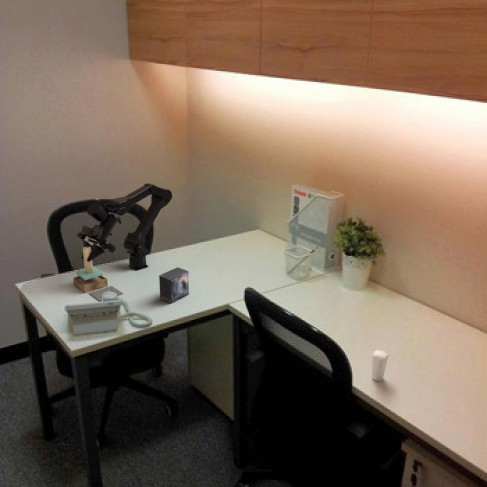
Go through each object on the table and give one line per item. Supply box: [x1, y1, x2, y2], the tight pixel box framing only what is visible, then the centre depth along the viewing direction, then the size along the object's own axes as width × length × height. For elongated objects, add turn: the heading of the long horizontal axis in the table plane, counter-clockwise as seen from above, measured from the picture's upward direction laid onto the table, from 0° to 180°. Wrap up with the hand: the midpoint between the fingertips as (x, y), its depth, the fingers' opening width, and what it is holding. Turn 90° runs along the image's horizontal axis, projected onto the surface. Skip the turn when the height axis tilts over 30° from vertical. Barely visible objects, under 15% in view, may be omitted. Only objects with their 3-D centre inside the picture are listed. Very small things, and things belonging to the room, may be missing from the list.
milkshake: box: [371, 349, 390, 382], centre depth 162 cm, size 4×5×10 cm
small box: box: [158, 266, 190, 305], centre depth 212 cm, size 11×6×10 cm, turn 143°
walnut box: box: [72, 275, 109, 294], centre depth 222 cm, size 10×10×3 cm
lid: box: [75, 246, 104, 280], centre depth 219 cm, size 8×8×12 cm
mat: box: [88, 285, 124, 302], centre depth 215 cm, size 10×9×1 cm
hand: (85, 260), depth 217 cm, fingers closed on lid, 3 cm apart
